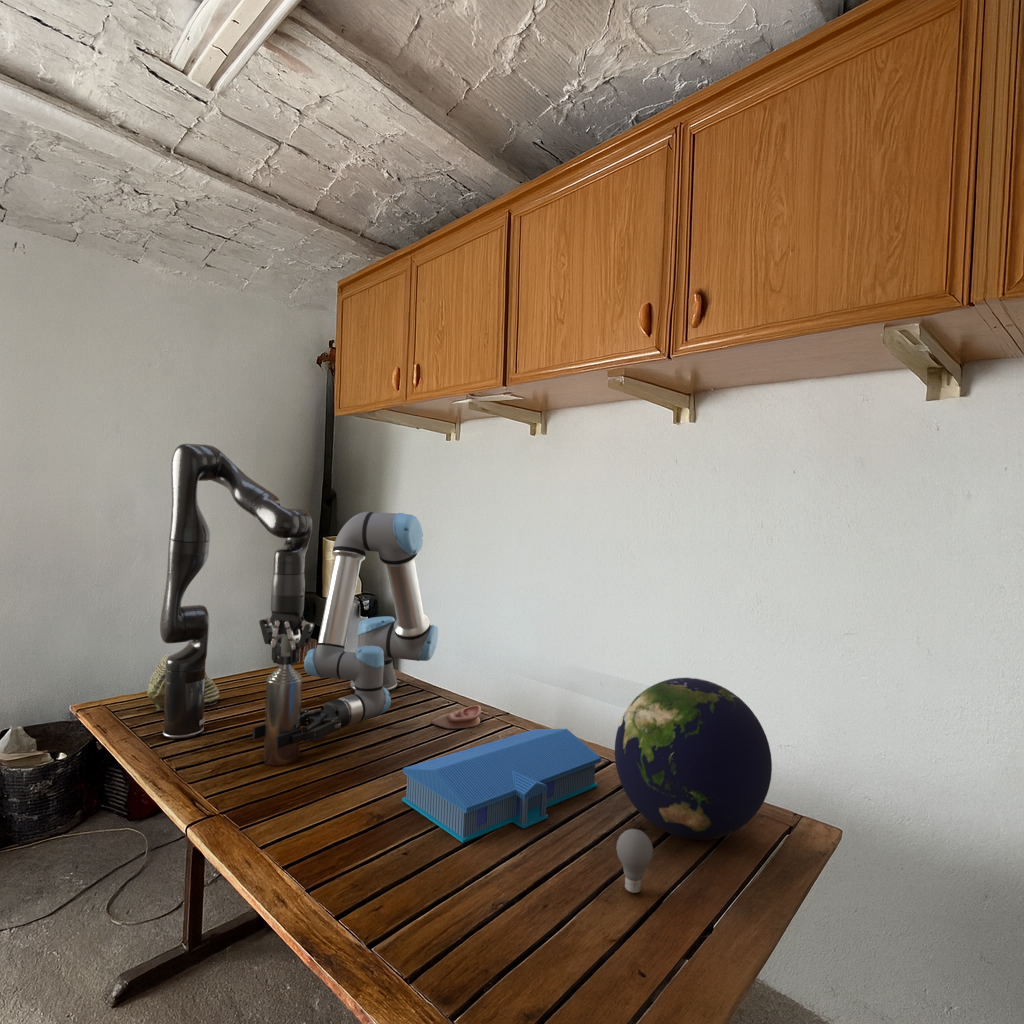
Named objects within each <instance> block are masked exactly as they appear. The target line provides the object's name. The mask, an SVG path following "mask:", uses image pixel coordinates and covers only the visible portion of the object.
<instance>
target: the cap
mask: <svg viewBox="0 0 1024 1024" xmlns="http://www.w3.org/2000/svg"><path fill="white" fill-rule="evenodd" d="M275 664H277V665H279V664H280V665H289V664H290V652H281V653H279V654H277V657H276V663H275Z"/></svg>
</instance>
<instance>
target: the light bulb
mask: <svg viewBox="0 0 1024 1024" xmlns="http://www.w3.org/2000/svg"><path fill="white" fill-rule="evenodd" d="M615 849H616V854H617V857H618V859H619V861H620V863H621V865H622V867H623V873H624V874H623V875H624V876H625V878H624V888H625V890H627V891H628V892H630V893H634V894H635V893H639V892H640V891H641V889H642V887H641V886H642V879H643V877H644V875H645V871H646V868H647V867H648V866H649V864H650V863H651V861H652V859H653V855H654V847H653V843H652V841H651V838H649V836H648V835H647V834H646V833H645V832H643V831H642V830H641V829H636V828H629V829H627V830H625V831H623V832H622V833H621V834H620V835H619V837H618V839H617V841H616V847H615Z"/></svg>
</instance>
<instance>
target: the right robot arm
mask: <svg viewBox="0 0 1024 1024" xmlns="http://www.w3.org/2000/svg"><path fill="white" fill-rule="evenodd" d="M423 537H424V533H423V527H422V524H421V522H420V520H419V519H418V517H417V516H415V515H413V514H409V513H404V512H397V513H396V512H395V513H394V512H376V511H363V512H360V513H357V514H355V515H354V516H352V517H351V518H350V519H349V520H347V521H346V522H345V524H343V526H342V527H341V529H340V530H339V532H338V534H337V536H336V538H335V540H334V542H333V548H332V552H331V555H332V556H333V557H334V561H333V565H332V570H331V574H330V575H331V576H330V580H329V584H328V591H327V595H326V601H325V605H324V611H323V616H322V621H321V625H320V630H319V635H318V641H317V644H316V647H315V648H310V649H309V650H308V651H307V653H306V656H304V660H303V667H304V671H305V673H306V674H307V675H309V676H312V677H316V678H320V679H324V678H327V679H335V680H337V679H338V680H344V681H350V683H349V685H350V686H349V688H350V690H351V691H354V693H353V694H349V695H345V696H342V697H339V698H337V699H332V700H329V701H327V702H325V703H324V704H323V705H322V707H321V708H320V709H315V710H313V711H309V708H307V707H306V708H303V709H301V726H300V727H302V728H300V729H297V730H294V731H291V732H288V733H284V734H281V735H278V736H276V748H277V749H278V748H281V747H284V746H287V745H290V744H293V743H296V742H298V741H300V742H301V741H308V740H309V742H310V743H313V742H316V741H318V740H320V739H322V738H324V737H326V736H328V735H330V734H332V733H335V732H339V731H341V729H344V728H345V727H348V728H350V727H351V726H352V725H354V724H357V723H360V722H363V721H366V720H369V719H372V718H377V717H378V716H381V715H383V714H384V713H386V712H387V711H388V710H389V709H390V707H391V704H392V698H391V696H390V692H392V691H395V690H396V689H397V688H398V679H397V675H396V671H395V669H394V663H393V659H399V660H407V661H416V662H428V661H430V660H431V659H432V658H433V656H434V654H435V651H436V648H437V644H438V638H439V628H438V626H437V625H434V624H432V625H431V621H430V618H429V617H428V616H427V615H426V614H424V613H425V612H424V607H423V603H422V597H421V590H420V584H419V578H418V573H417V568H416V567H417V566H416V561H415V559H416V558H417V557H418V555H419V553H420V551H421V550H422V547H423V542H424V539H423ZM367 552H376V553H378V556H379V560H380V561H381V563H383V564H384V565H386V571H387V575H388V582H389V586H390V591H391V596H392V601H393V606H394V612H395V617H396V619H395V618H394V616H391V615H389V616H387V615H386V616H375V617H369V618H366V619H365V618H364V619H363V620H360V622H359V624H358V629H357V646H356V647H357V648H356V650H355V652H351V651H345V645H346V640H347V636H348V630H349V624H350V619H351V615H352V609H353V604H354V600H355V594H356V589H357V584H358V579H359V573H360V569H361V565H362V562H363V561H364V560H366V555H367ZM264 736H265V723H262V724H260V725H255V726H253V727H252V739H253V740H257V739H261V738H263V737H264Z"/></svg>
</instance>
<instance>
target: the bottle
mask: <svg viewBox="0 0 1024 1024" xmlns="http://www.w3.org/2000/svg"><path fill="white" fill-rule="evenodd" d="M265 687H266V688H265V713H264V715H265V716H264V717H265V718H264V724H265V736H263V737H264V739H263V742H264V743H263V762H264V763H265V764H267V765H268V766H269V765H270V766H287V765H290V764H293V763H295V762H297V761H298V760H299V759H300V750H301V749H300V748H301V743H300V742H301V741H298V742H296V743H293V744H290V745H287V746H284V747H281V748H278V749H277V748H276V736H278V735H281V734H284V733H288V732H291V731H294V730H297V729H301V727H302V726H301V710H302V702H303V701H302V699H303V676H302V675H301V673H299V671H297V670H296V669H294V667H293V666H292V665H290V664H289V665H280V664H278V668H276V669H275V670H274V671H273V672H272V673H270V674H269V675H268V678H267V679H266V686H265Z"/></svg>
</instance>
